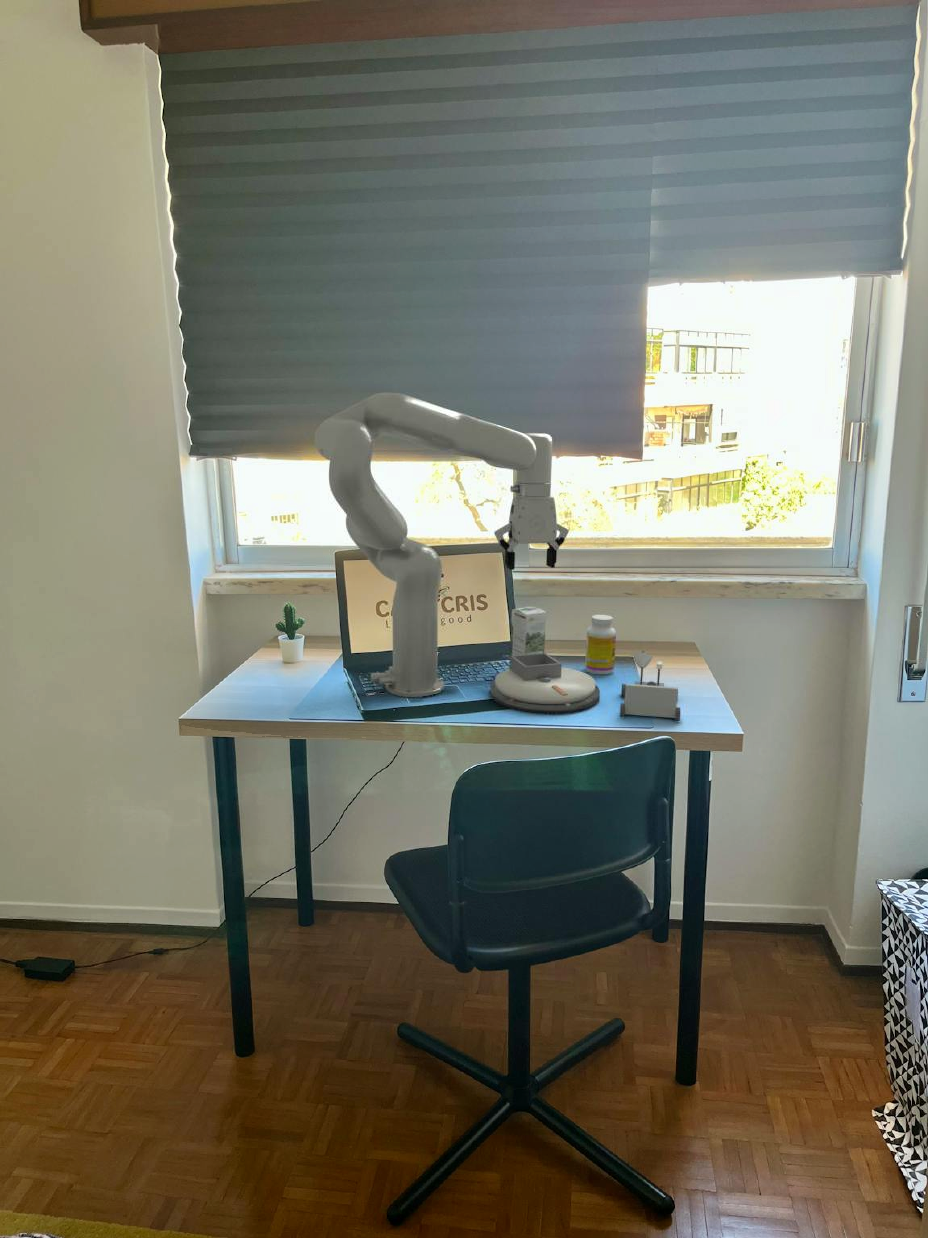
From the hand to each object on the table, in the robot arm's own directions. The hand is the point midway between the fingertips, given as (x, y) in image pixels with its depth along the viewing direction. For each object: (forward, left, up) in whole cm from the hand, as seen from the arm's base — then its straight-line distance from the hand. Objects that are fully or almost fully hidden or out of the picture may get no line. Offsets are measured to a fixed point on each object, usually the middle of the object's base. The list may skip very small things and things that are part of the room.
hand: (530, 567), depth 202 cm
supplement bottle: (+16, -5, -24) cm, 29 cm away
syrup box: (0, 0, -24) cm, 24 cm away
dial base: (-3, -17, -24) cm, 30 cm away
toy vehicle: (+15, -29, -25) cm, 41 cm away
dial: (-3, -17, -22) cm, 28 cm away
